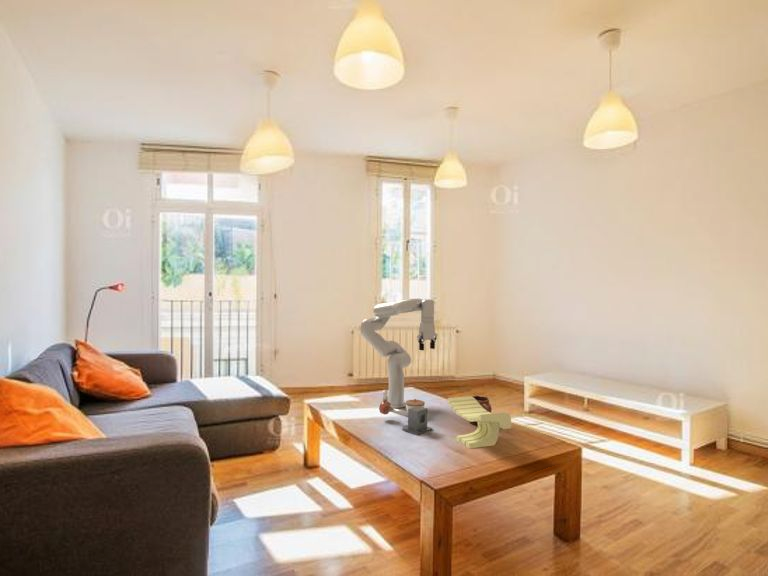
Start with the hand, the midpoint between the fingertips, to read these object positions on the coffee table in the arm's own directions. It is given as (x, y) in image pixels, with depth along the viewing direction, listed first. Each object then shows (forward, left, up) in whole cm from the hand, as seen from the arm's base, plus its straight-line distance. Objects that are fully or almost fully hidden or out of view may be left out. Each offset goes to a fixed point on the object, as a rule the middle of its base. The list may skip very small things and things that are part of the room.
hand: (427, 349), depth 264 cm
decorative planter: (+35, +3, -36) cm, 51 cm away
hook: (+5, -30, -33) cm, 45 cm away
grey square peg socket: (+20, -30, -36) cm, 51 cm away
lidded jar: (+2, -12, -37) cm, 39 cm away
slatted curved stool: (+50, -21, -37) cm, 65 cm away
